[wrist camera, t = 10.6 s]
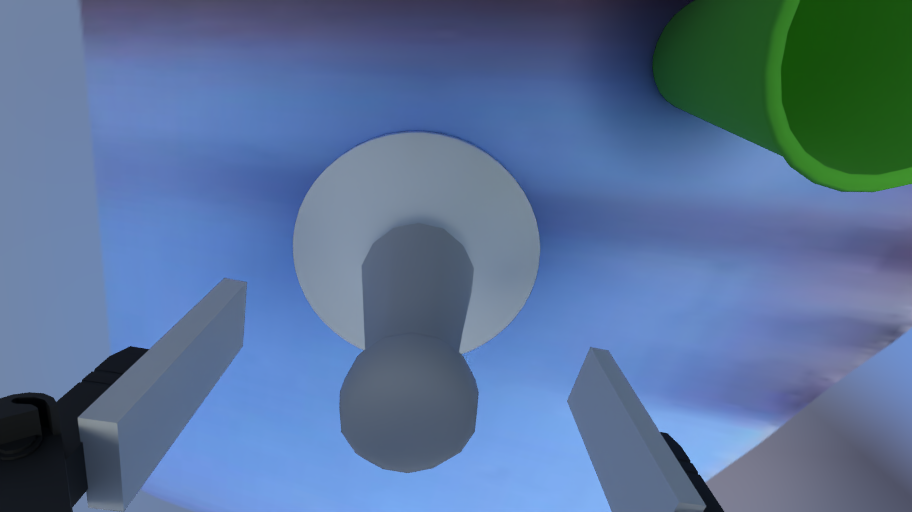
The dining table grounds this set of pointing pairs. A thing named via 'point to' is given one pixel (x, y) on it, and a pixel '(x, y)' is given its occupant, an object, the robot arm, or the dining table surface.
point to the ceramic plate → (409, 202)
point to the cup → (800, 82)
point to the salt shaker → (412, 353)
